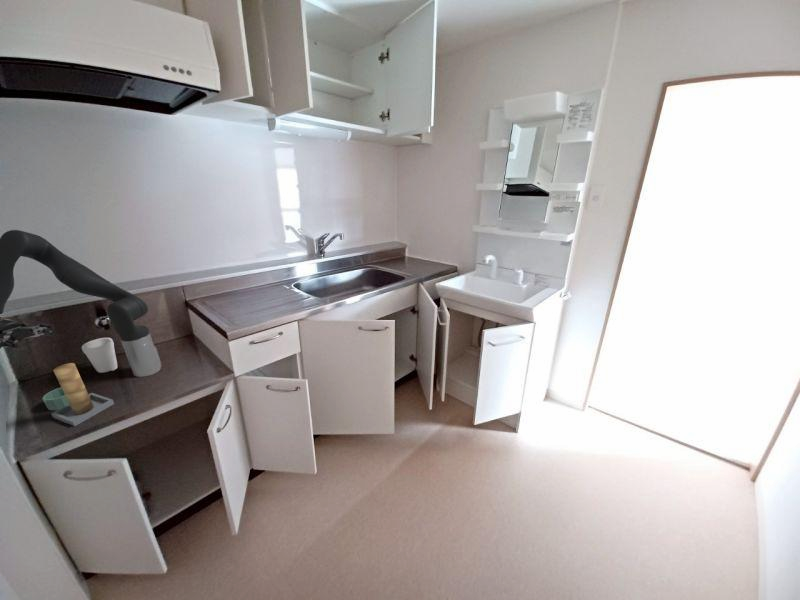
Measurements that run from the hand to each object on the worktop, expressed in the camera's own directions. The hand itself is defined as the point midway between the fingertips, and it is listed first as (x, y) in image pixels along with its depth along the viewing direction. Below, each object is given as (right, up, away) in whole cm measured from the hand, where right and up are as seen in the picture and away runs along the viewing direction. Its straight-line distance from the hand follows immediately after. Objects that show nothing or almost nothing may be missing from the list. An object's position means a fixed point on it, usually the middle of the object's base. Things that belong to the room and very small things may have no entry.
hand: (34, 339), depth 102 cm
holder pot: (-1, -25, +10) cm, 27 cm away
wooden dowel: (+10, -26, +6) cm, 29 cm away
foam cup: (-5, -17, +31) cm, 35 cm away
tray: (+10, -27, +7) cm, 29 cm away
